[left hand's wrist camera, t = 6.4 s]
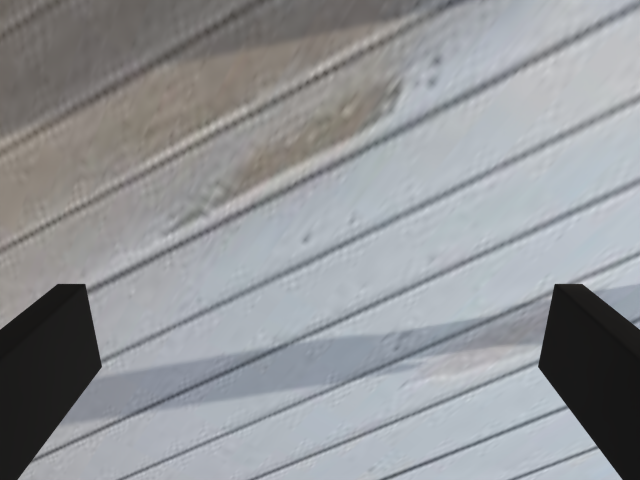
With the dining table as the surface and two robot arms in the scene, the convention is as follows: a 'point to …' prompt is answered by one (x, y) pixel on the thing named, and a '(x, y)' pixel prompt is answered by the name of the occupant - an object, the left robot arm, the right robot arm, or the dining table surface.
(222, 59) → the dining table surface
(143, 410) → the dining table surface
